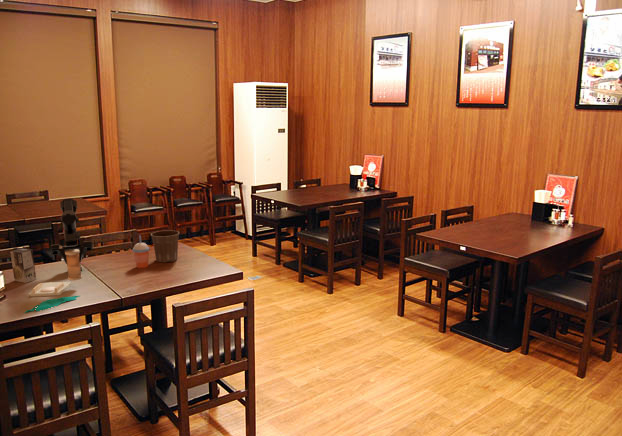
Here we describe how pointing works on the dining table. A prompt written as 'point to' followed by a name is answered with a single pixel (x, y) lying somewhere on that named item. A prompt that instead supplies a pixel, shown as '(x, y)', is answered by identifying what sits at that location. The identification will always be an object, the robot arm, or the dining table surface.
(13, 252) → the coffee box
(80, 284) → the dining table surface
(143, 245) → the cup with straw
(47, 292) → the cream square tray
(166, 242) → the plant pot
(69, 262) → the bobbin
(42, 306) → the cloth
